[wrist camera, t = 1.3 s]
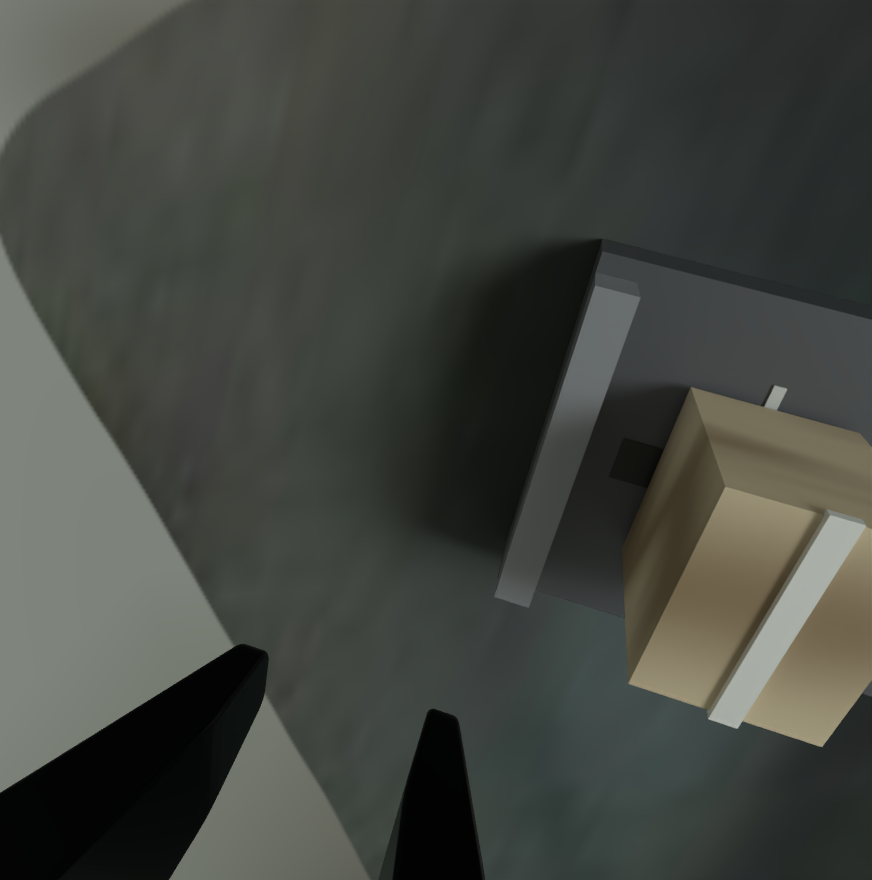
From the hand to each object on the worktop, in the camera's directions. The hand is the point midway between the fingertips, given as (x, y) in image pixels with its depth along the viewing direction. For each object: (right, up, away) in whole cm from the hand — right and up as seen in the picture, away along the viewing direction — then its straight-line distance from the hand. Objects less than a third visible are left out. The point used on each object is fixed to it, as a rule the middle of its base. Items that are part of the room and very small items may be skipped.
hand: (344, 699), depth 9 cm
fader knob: (+9, +2, +8) cm, 12 cm away
